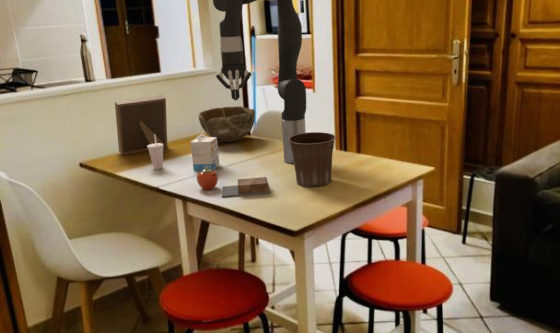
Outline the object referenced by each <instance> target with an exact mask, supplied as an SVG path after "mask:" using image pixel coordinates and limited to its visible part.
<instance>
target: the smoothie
mask: <svg viewBox="0 0 560 333" xmlns="http://www.w3.org/2000/svg"><path fill="white" fill-rule="evenodd" d="M154 138H155V144H150V145H148V146H147V147H148V149H149V150H148V153H149V157H150V160H151V164H152V167H153V170H162V169H163V168H164V166H163V165H164V161H163V160H164V158H163V157H164V156H163V155H164V153H163V147H164V146H163V144H161V143H157V142H156V135H155V134H154Z"/></svg>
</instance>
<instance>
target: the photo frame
mask: <svg viewBox="0 0 560 333" xmlns="http://www.w3.org/2000/svg"><path fill="white" fill-rule="evenodd" d="M114 108H115V118H116V119H115V120H116V130H117V131H116V133H117V142H118V152H119V154H120V155H121V156H126V155H130V154H135V153H142V152H149V149H148V147H147V146H148V145H150V144H155V138H154V134H155V135H156V142H157V143H161V144H163V146H164V147H163V154H164V153H165V148H168V128H167V127H168V126H167V98H166V97H165V96H164V95H163V94H161V95H151V96H145V97H138V98H137V97H136V98H129V99H121V100H114Z"/></svg>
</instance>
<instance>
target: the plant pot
mask: <svg viewBox="0 0 560 333" xmlns="http://www.w3.org/2000/svg"><path fill="white" fill-rule="evenodd" d="M336 138H337V137H336V135H335V134H332V133H330V132H319V131H318V132H316V131H315V132H314V131H313V132H306V133H301V134H297V135H293V136H291V137H289V139H288V141H289V142H290V146H291V151H292V153H293V160H294V163H293V164H294V171H295V178H296V183H297V184H298V185H299V186H301V187H306V188H307V187H308V188H313V187H323V186H327V185H329V184H330V183H331V182H332V169H333V150H334V147H335V140H336Z"/></svg>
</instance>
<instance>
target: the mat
mask: <svg viewBox="0 0 560 333" xmlns="http://www.w3.org/2000/svg"><path fill="white" fill-rule="evenodd" d="M269 194H271V191H270V185H269V184H268V192H258V193H246V194H238V184H237V185H236V184H235V185H228V186H226V185H224V186H222V190H221V198H223V199H224V198H233V197H244V196H259V195H269Z"/></svg>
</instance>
